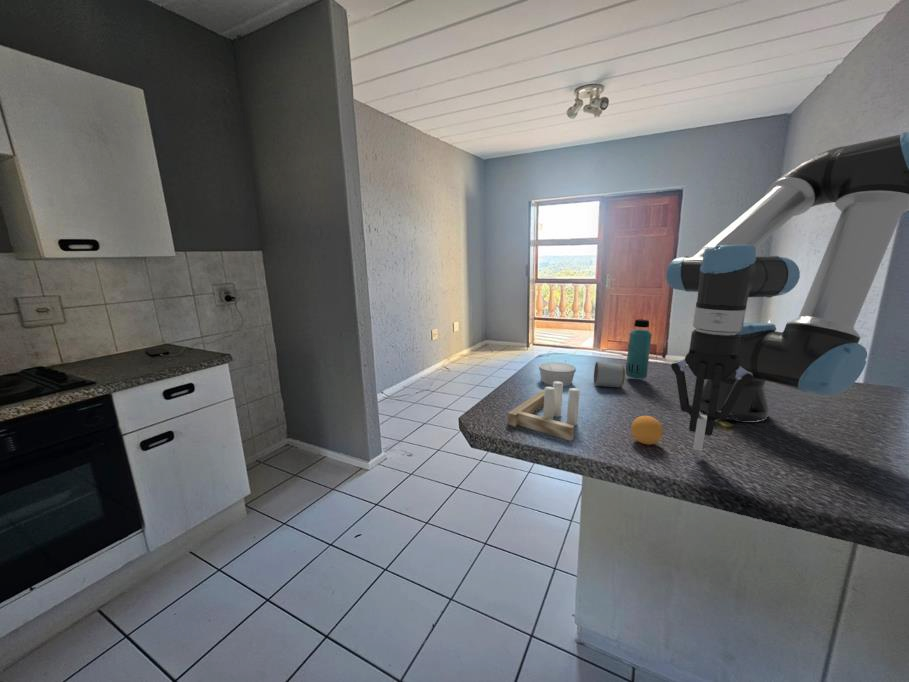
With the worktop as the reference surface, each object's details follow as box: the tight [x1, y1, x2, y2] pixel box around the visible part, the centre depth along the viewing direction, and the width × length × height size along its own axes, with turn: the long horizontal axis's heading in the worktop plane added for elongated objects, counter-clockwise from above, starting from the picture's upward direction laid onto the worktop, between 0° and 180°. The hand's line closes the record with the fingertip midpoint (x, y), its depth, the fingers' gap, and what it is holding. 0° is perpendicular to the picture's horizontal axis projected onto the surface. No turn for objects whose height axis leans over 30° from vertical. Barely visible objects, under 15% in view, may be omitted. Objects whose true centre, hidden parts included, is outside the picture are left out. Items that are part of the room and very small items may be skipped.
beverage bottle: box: [625, 318, 652, 380], centre depth 117 cm, size 6×7×20 cm
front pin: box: [566, 387, 581, 426], centre depth 87 cm, size 2×2×8 cm
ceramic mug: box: [593, 360, 626, 388], centre depth 115 cm, size 11×8×8 cm
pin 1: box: [542, 386, 555, 420], centre depth 88 cm, size 2×2×8 cm
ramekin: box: [538, 361, 577, 387], centre depth 118 cm, size 11×11×5 cm
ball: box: [630, 415, 664, 446], centre depth 78 cm, size 6×6×6 cm
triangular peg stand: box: [507, 389, 575, 442], centre depth 91 cm, size 15×20×3 cm
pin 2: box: [552, 381, 564, 418], centre depth 92 cm, size 2×2×8 cm
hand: (697, 447), depth 73 cm, fingers closed
